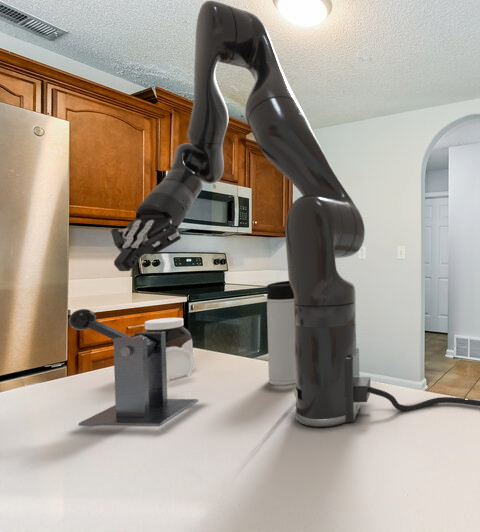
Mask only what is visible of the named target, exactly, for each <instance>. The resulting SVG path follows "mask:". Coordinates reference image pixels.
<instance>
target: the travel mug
mask: <svg viewBox="0 0 480 532" xmlns="http://www.w3.org/2000/svg"><path fill="white" fill-rule="evenodd" d="M266 294H267V295H266V320H267V321H266V323H267V325H266V326H267V351H268V352H267V361H268V366H267V367H268V384H269V385H270V386H276V387H286V386H287V387H288V386H294V385H296V371H295V323H294V294H293V291H292V289H291V286H290V283H289V280H284V281H278V282H277V281H276V282H273V283H269V284H267V285H266Z"/></svg>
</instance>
